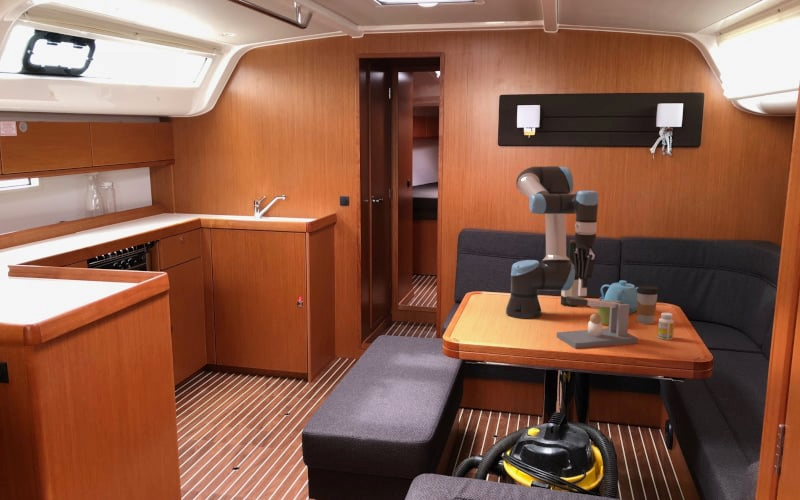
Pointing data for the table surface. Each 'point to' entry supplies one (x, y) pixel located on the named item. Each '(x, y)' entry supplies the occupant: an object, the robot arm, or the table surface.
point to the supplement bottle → (665, 326)
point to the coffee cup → (646, 303)
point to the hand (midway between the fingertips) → (582, 295)
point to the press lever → (590, 302)
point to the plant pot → (604, 315)
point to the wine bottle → (574, 289)
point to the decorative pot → (621, 294)
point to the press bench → (602, 331)
